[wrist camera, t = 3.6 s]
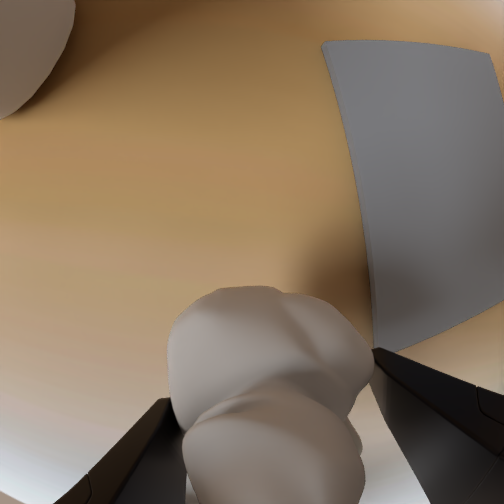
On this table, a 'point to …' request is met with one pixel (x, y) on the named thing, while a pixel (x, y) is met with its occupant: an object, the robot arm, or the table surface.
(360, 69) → the grey mat
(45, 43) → the can
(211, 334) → the off-white lumpy chunk
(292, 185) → the table surface
